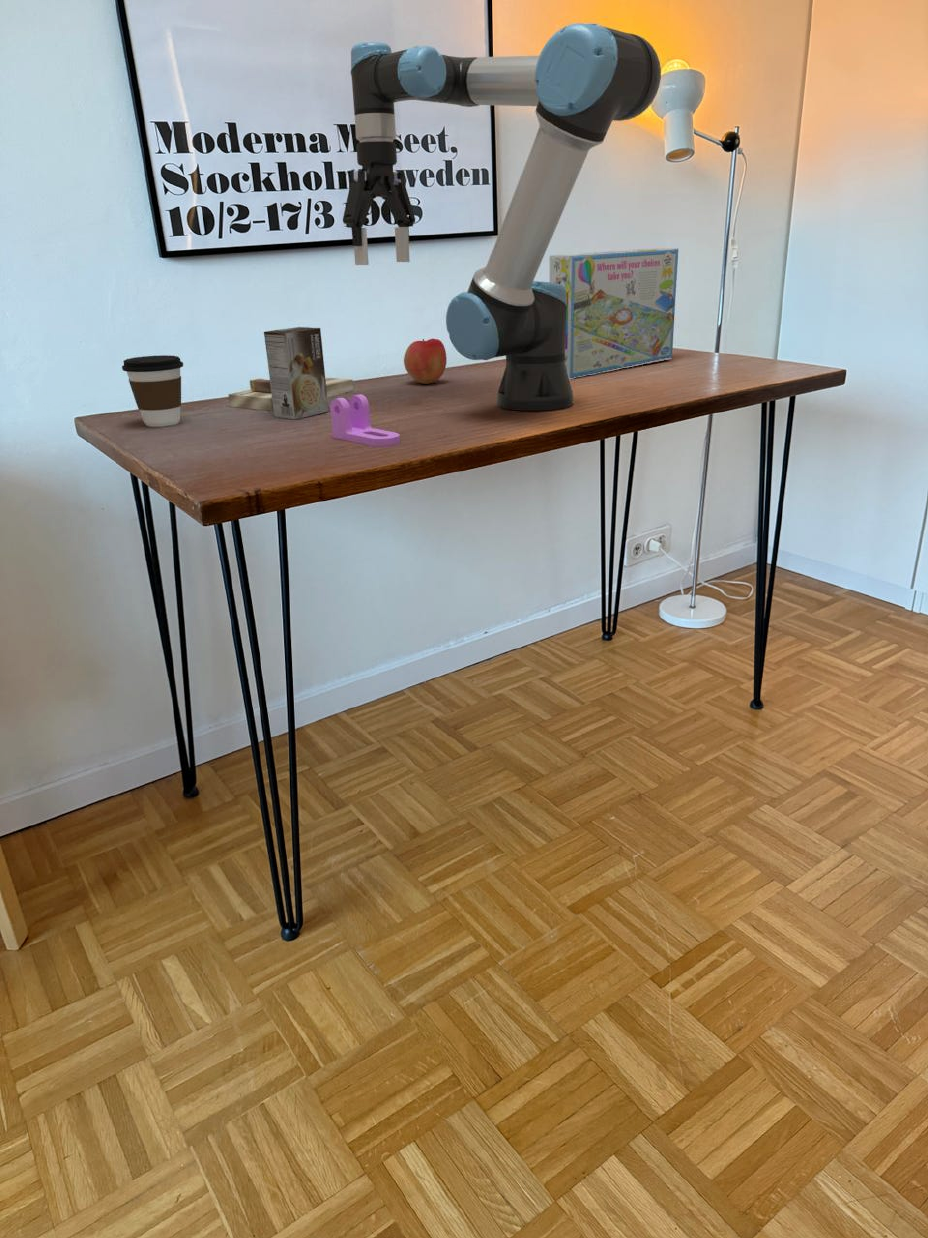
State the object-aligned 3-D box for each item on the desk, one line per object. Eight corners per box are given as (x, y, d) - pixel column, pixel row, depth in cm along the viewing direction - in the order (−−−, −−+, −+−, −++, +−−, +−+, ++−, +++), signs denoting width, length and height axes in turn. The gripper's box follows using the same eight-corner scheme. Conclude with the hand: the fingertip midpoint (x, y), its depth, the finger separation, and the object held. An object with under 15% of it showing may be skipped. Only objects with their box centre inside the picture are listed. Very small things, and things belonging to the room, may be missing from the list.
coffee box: (307, 409, 175) (299, 326, 169) (329, 412, 172) (322, 327, 165) (272, 416, 169) (262, 330, 162) (295, 420, 165) (286, 332, 159)
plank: (353, 390, 194) (352, 379, 193) (272, 411, 174) (270, 397, 173) (312, 387, 200) (311, 376, 199) (230, 406, 180) (228, 393, 179)
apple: (439, 379, 207) (438, 335, 203) (452, 384, 199) (450, 339, 195) (401, 381, 204) (398, 337, 200) (411, 387, 196) (409, 342, 192)
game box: (650, 358, 230) (657, 247, 219) (672, 361, 226) (680, 247, 214) (547, 377, 206) (548, 253, 195) (569, 380, 201) (572, 253, 190)
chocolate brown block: (316, 405, 179) (313, 370, 176) (297, 410, 174) (293, 374, 171) (266, 400, 186) (262, 367, 183) (246, 405, 181) (242, 370, 178)
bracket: (332, 438, 150) (329, 397, 147) (357, 432, 154) (354, 393, 151) (381, 448, 142) (379, 405, 139) (406, 442, 145) (404, 400, 143)
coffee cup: (158, 431, 158) (147, 364, 153) (120, 426, 164) (107, 361, 159) (204, 420, 167) (194, 356, 162) (165, 416, 172) (155, 353, 167)
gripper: (398, 147, 174) (404, 260, 183) (317, 138, 155) (327, 266, 164) (429, 144, 170) (433, 260, 179) (349, 135, 151) (358, 265, 160)
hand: (383, 263), depth 171 cm, fingers open, 13 cm apart
